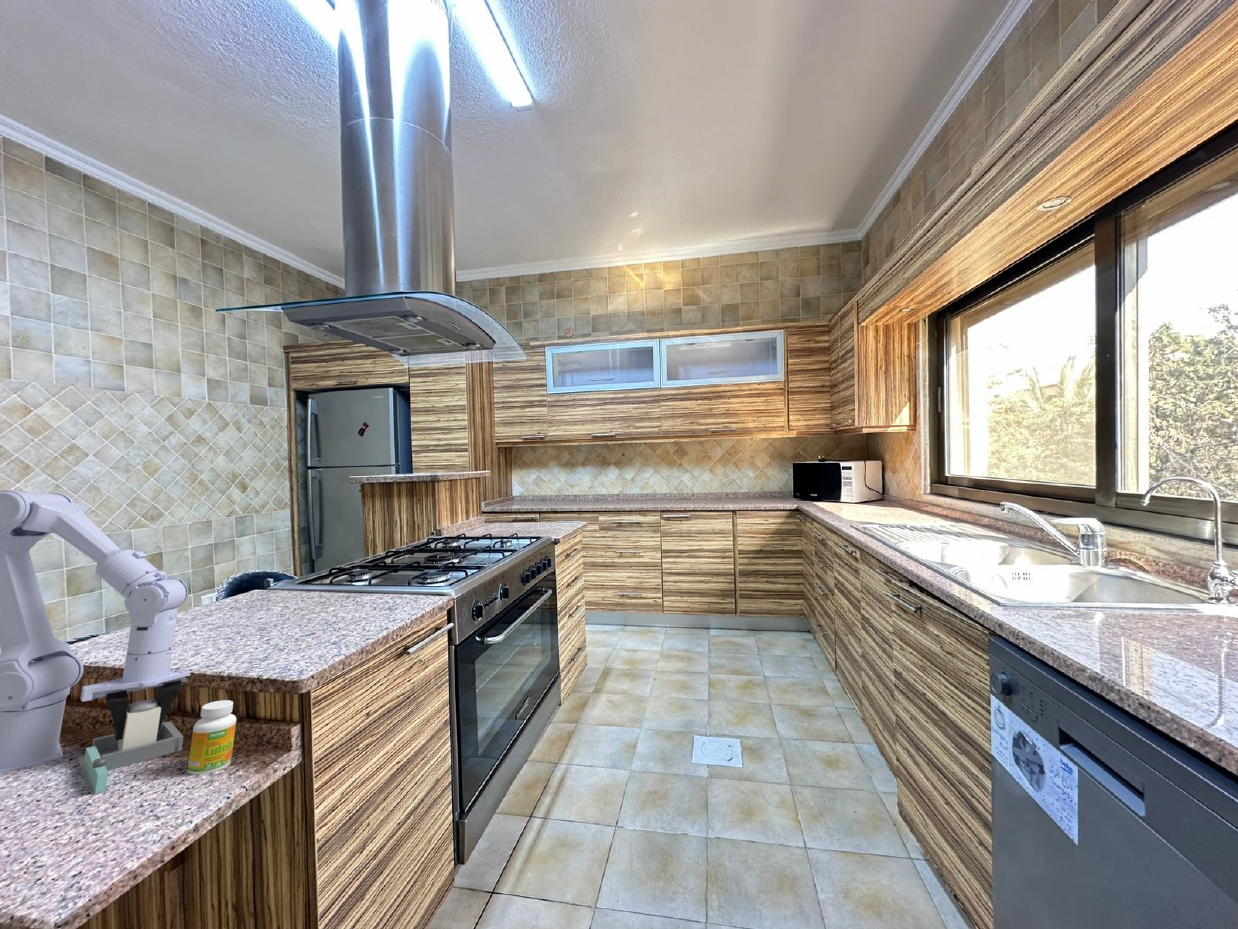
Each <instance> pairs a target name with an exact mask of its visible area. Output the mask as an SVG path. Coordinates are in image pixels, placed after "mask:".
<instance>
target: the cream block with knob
mask: <svg viewBox="0 0 1238 929" xmlns="http://www.w3.org/2000/svg"><path fill="white" fill-rule="evenodd" d="M157 703H158V700H157V699H154V698H153V699H152V698H151V699H143V700H137V701H134V702H132V703H129V704H128V708H127V712H126V717H125V727H124V732H123V737H122V739H121V740H119V741H118V748H119V750H120V751H121V750H124V749H128V748H132V747H136V746H140V745H144V744H148V743H152V742H156V738H157V732H158V725H159V719H160V712H161V708H160V706H159V705H158V704H157Z"/></svg>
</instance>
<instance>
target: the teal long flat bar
mask: <svg viewBox="0 0 1238 929" xmlns="http://www.w3.org/2000/svg"><path fill="white" fill-rule="evenodd" d="M84 756H85V758H84V764H83V765H84V768H85V770H86V773H87V775H88V777H89V780H90V782H91V785H92V787H93V790H94V792H95V794H97V793H100V792H103V793H105V792H104V791H105V790H106V786H107V783H108V778H109V777H108V775H109V772H108V771H109V770H108V771H107V769H106V767H105V765H106V762H107V758H101V757H100V755H99V752H98V750H97V748H96V746H89V747H85V754H84ZM100 794H101V793H100ZM97 795H98V794H97Z"/></svg>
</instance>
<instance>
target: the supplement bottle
mask: <svg viewBox="0 0 1238 929" xmlns="http://www.w3.org/2000/svg"><path fill="white" fill-rule="evenodd" d="M233 709H234V702H233V700H228V699H224V700H216V701H211V702H208V703H206V704H203V706H202V707H201V711H200V719H198V720H197V721H196V722H195V723H194V725H193V728H192V735H191V743H190V751H189V756H188V764H187V773H188V774H189V775H194V776H195V775H197V776H198V775H207V774H210V773H214V772H217V771H220V770H222V769H224V768H226V767H228V766H229V765H230V764H231V762H232V756H233V749H234V742H235V735H236V734H235V733H236V725H237V716H236V715H234V714H232V712H233Z"/></svg>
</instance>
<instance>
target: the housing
mask: <svg viewBox="0 0 1238 929" xmlns="http://www.w3.org/2000/svg"><path fill="white" fill-rule="evenodd" d="M118 741H119V740H116V739H115V733H111V734H108V735H104V736H99V737H94V738H93V740H92V746H96V748H97V750H98V752H99V755H100V757H101V758H107V762H106V765H105V767H106V769H107V771H112V770H115V769H119V768H122V767H126V766H130V765H134V764H138V763H140V762H144V761H145V762H146V761H149V760H152V759H156V758H159V757H162V756H166V755H170V754H174V753H177V752H182V750H183V743H184V735H183V734H182V733H181V732H180V731H179V729H177V728H176V726H175V725H174V724H173V723H172V722H171V721H170V722H167V721H163V722H162V725H161V728H160V730H159V731H158V732H157V738H156V742H152V743H148V744H144V745H140V746H136V747H132V748H128V749H124V750H121V751H120V750H119V748H118ZM92 746H91V747H92ZM84 758H85V755H82V756H79V757H77V761H78V763H79V765H80V768H81V771H82V773H83V776H84V778H85V779H84V780H85V781H86V784H87V786H88V788H89V791H90V794H91V796H92V797H93V796H96V795H99V794H102V793H103V794H104V793H107V792H109V788H108V786H107V785H106V790H105V791H104V792H100V793H97V794H95V792H94V790H93V787H92V785H91V782H90V780H89V777H88V775H87V773H86V770H85V768H84V765H83V764H84Z"/></svg>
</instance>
